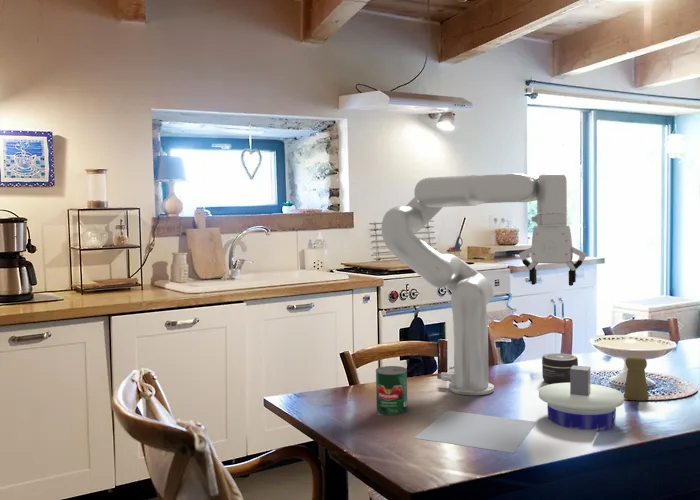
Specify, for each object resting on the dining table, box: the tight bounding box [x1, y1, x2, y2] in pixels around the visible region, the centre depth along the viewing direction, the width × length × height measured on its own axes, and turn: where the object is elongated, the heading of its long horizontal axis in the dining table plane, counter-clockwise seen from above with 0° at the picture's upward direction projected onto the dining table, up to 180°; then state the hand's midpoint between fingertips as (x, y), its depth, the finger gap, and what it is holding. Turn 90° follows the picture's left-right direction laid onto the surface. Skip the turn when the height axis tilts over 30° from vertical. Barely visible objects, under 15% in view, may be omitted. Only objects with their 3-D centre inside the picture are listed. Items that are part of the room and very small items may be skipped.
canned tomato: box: [375, 365, 408, 417], centre depth 166 cm, size 8×8×11 cm
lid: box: [538, 365, 625, 410], centre depth 155 cm, size 19×19×7 cm
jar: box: [541, 352, 579, 385], centre depth 191 cm, size 10×10×8 cm
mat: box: [414, 410, 538, 454], centre depth 150 cm, size 22×22×1 cm
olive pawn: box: [623, 355, 650, 401], centre depth 174 cm, size 6×6×11 cm
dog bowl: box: [546, 403, 617, 433], centre depth 155 cm, size 15×15×6 cm
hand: (552, 284), depth 175 cm, fingers open, 9 cm apart
